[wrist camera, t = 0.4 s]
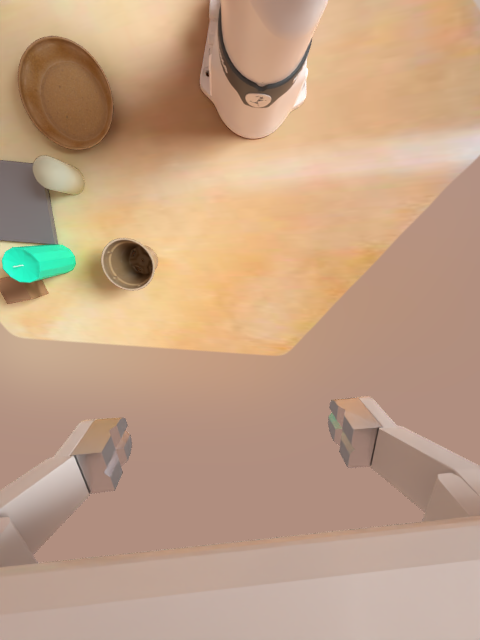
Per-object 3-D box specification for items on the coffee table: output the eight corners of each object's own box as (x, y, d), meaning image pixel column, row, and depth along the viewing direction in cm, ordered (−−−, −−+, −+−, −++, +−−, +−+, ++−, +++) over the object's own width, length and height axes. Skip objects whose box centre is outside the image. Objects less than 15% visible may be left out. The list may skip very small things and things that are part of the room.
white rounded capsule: (54, 163, 44) (29, 153, 39) (82, 166, 45) (62, 157, 39) (59, 193, 46) (36, 188, 40) (86, 196, 46) (67, 191, 41)
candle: (53, 275, 51) (5, 287, 40) (40, 246, 49) (-15, 251, 38) (80, 270, 51) (40, 281, 40) (68, 241, 49) (22, 244, 38)
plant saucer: (109, 168, 45) (102, 164, 43) (25, 130, 42) (12, 123, 40) (128, 77, 41) (122, 67, 38) (35, 27, 38) (22, 13, 36)
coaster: (-39, 157, 43) (-44, 155, 42) (43, 165, 44) (40, 164, 43) (-16, 238, 48) (-21, 238, 47) (58, 244, 49) (54, 244, 48)
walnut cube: (15, 275, 51) (-7, 279, 46) (37, 271, 51) (18, 274, 46) (26, 297, 53) (7, 304, 48) (48, 293, 53) (31, 299, 48)
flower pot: (120, 277, 52) (101, 286, 44) (120, 232, 49) (100, 233, 41) (163, 284, 53) (152, 294, 45) (166, 241, 50) (155, 243, 42)
